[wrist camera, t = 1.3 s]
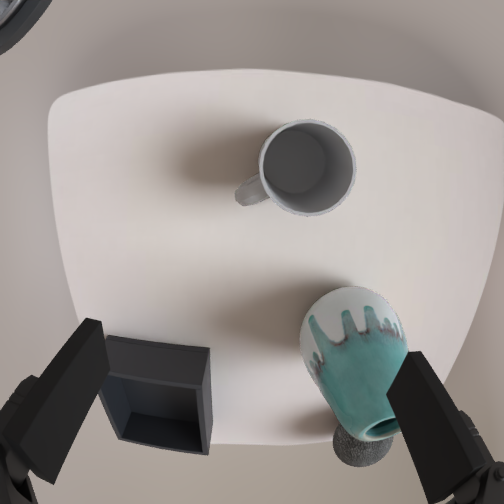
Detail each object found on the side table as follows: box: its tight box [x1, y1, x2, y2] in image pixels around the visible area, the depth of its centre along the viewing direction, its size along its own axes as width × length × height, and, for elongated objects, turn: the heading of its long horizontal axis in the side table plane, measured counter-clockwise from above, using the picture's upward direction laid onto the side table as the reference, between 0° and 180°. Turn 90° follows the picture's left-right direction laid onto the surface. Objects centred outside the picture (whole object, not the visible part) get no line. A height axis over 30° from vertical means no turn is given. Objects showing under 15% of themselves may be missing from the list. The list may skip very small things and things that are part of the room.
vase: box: [300, 286, 409, 442], centre depth 27 cm, size 12×12×18 cm
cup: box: [235, 119, 356, 217], centre depth 25 cm, size 7×10×9 cm
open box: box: [98, 335, 213, 455], centre depth 36 cm, size 17×15×7 cm
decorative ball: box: [333, 423, 393, 467], centre depth 38 cm, size 10×10×10 cm
